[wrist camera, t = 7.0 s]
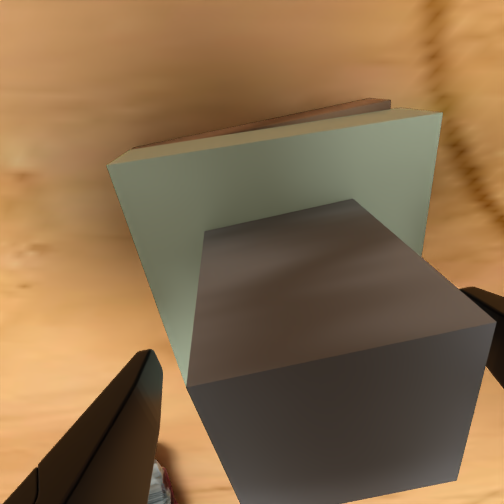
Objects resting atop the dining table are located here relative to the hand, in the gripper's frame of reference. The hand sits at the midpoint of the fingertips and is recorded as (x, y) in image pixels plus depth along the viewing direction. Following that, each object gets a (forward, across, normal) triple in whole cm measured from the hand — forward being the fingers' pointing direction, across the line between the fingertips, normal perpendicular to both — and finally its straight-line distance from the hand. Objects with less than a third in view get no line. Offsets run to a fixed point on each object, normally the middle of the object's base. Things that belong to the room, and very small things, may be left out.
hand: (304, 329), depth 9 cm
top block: (+5, 0, 0) cm, 5 cm away
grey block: (+3, 0, 0) cm, 3 cm away
